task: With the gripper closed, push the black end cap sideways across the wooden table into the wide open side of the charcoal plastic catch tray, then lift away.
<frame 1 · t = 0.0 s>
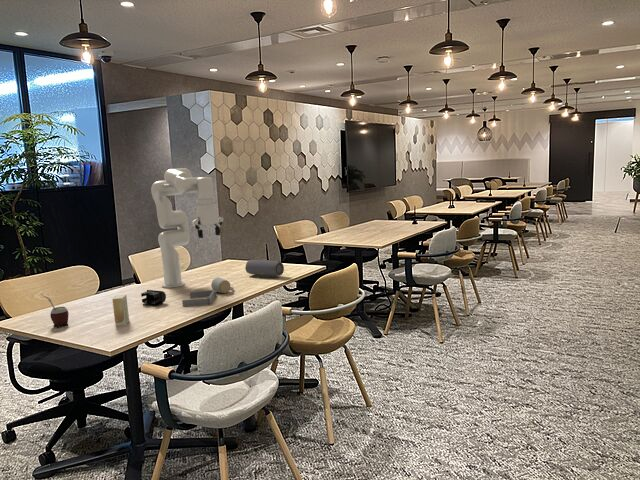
hand: (209, 236, 255), 31 cm above the table, tool pointing down, fingers open, 9 cm apart
bluetooth speaker: (265, 276, 304), on the table
catch tray: (199, 300, 254), on the table
mate gourd: (60, 326, 223), on the table
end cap: (154, 304, 253), on the table
ceramic mug: (223, 292, 270), on the table
skincare box: (122, 324, 221), on the table
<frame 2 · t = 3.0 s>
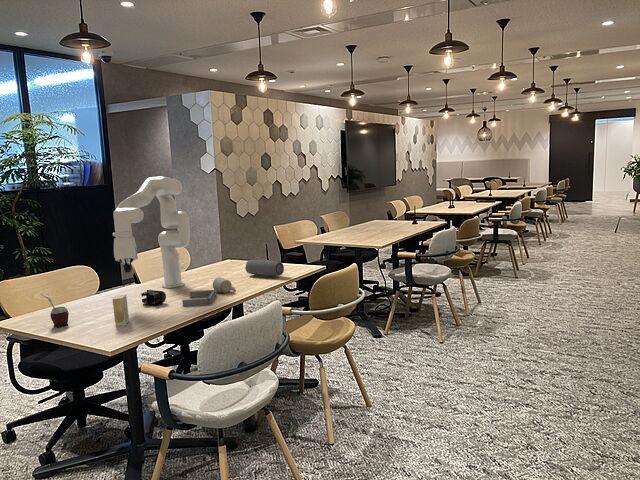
hand: (128, 271, 250), 17 cm above the table, tool pointing down, fingers closed
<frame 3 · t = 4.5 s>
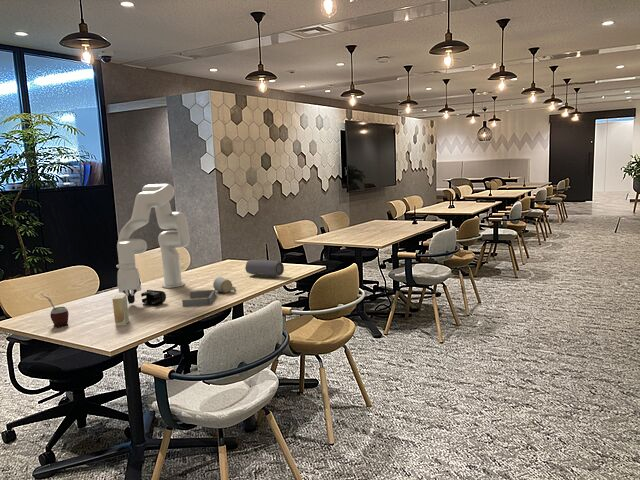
hand: (131, 302, 253), 1 cm above the table, tool pointing down, fingers closed
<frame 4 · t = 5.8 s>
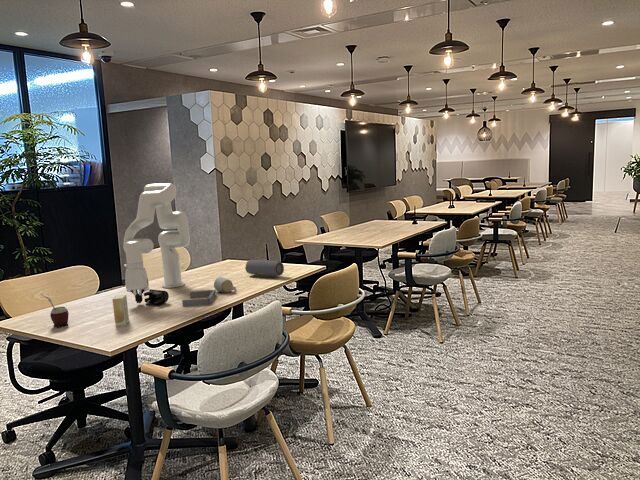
hand: (139, 302, 253), 1 cm above the table, tool pointing down, fingers closed
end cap: (157, 304, 253), on the table, touching gripper
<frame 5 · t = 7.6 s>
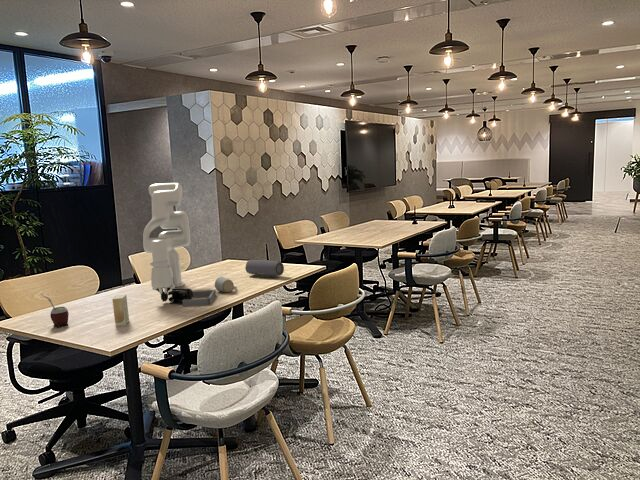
hand: (164, 300, 253), 1 cm above the table, tool pointing down, fingers closed
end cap: (181, 302, 253), on the table, touching gripper
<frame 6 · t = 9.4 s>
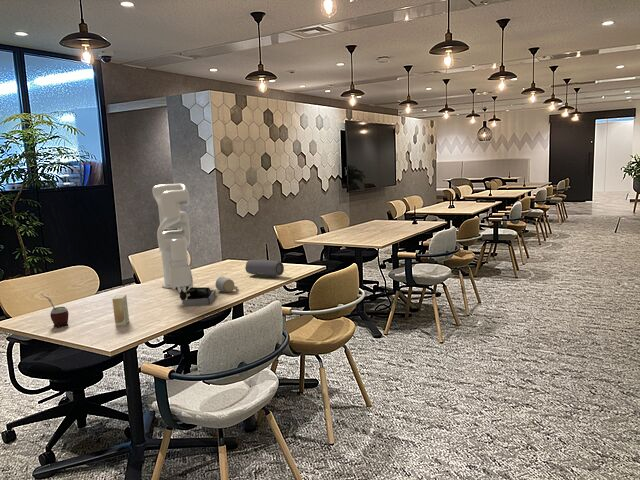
hand: (183, 299, 253), 1 cm above the table, tool pointing down, fingers closed
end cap: (199, 301, 253), on the table, touching catch tray, gripper
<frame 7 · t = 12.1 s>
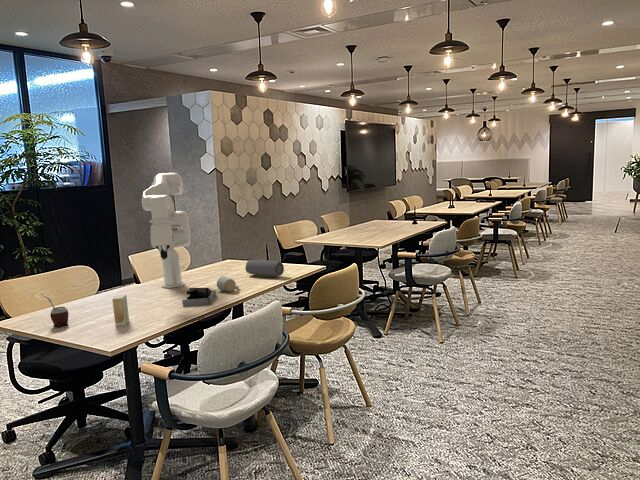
hand: (164, 258, 251), 22 cm above the table, tool pointing down, fingers closed
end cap: (199, 301, 253), on the table
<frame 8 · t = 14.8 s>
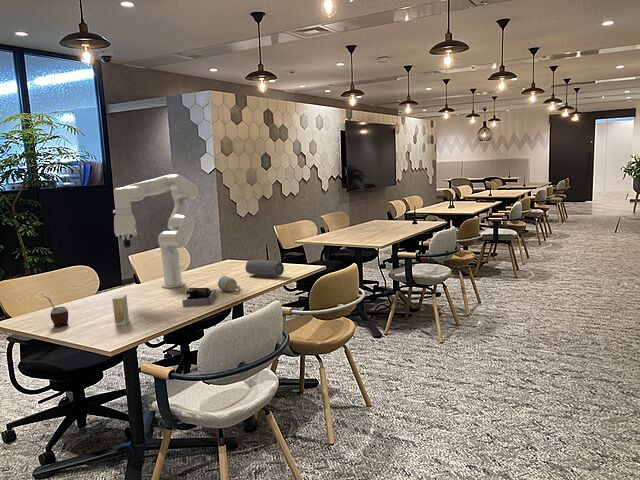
hand: (127, 247, 264), 27 cm above the table, tool pointing down, fingers closed
at the end: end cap inside the target area on the catch tray (1.1 cm from its centre), point 0.0 cm above the catch tray's base; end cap moved 22.3 cm from its start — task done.
